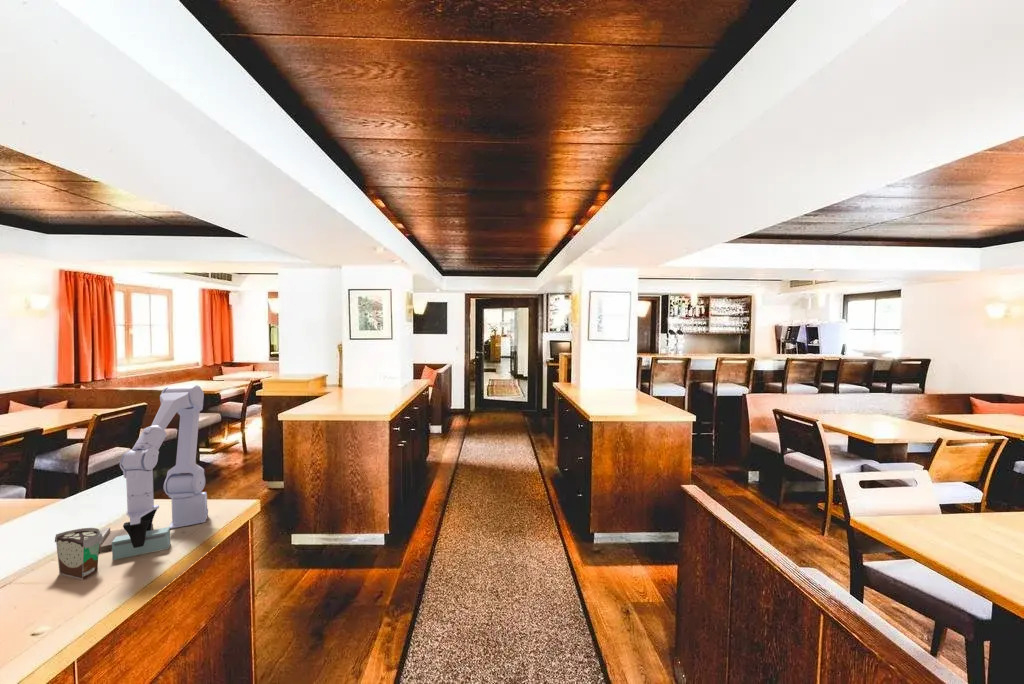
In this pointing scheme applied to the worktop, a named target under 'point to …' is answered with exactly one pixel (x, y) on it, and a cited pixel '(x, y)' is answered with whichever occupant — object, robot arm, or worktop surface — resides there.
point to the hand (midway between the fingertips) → (141, 541)
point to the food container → (78, 552)
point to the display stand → (110, 538)
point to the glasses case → (153, 542)
